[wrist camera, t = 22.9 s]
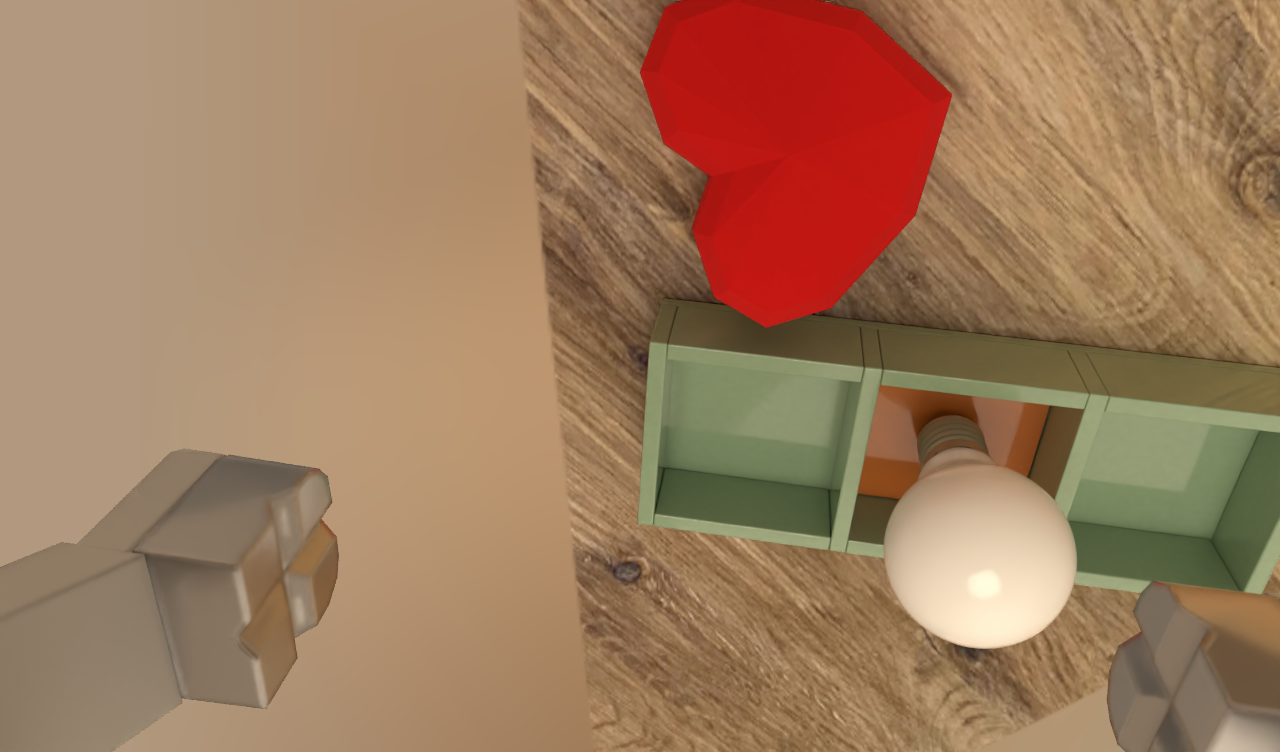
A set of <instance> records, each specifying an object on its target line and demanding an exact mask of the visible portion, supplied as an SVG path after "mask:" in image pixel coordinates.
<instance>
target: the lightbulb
mask: <svg viewBox="0 0 1280 752" xmlns="http://www.w3.org/2000/svg"><path fill="white" fill-rule="evenodd" d="M917 450H918V455H919V461H920V466H921V471H920V474H919V476H918V480H917V482H915V483H914V484H913V485H912V486H911V487H910V488H909V489H908V490H907V491H906V492H905V493H904V494H903V496H902V497H901V498H900V500H899V501H898V502H897V504H896V506H895V507H894V509H893V511H892V513H891V515H890V518H889V521H888V523H887V527H886V531H885V536H884V546H883V554H884V564H885V570H886V574H887V577H888V580H889V583H890V585H891V588H892V590H893V592H894V594H895V596H896V597H897V599H898V601H899V602H900V604H901V605H902V606H903V608H904V609H905V610H906V612H907V613H908V614H909V615H910V616H911V617H912V618H913V619H914V620H915V621H916V622H917V623H918V624H920V625H921V626H922V627H923V628H925V629H926V630H928V631H929V632H931V633H932V634H934V635H936V636H938V637H940V638H942V639H944V640H946V641H949V642H951V643H954V644H957V645H961V646H965V647H971V648H981V649H992V648H1001V647H1007V646H1011V645H1014V644H1018V643H1020V642H1023V641H1025V640H1027V639H1029V638H1031V637H1033V636H1035V635H1037V634H1038V633H1040V632H1041V631H1042V630H1044V629H1045V628H1046V627H1047V626H1049V625H1050V624H1051V623H1052V622H1053V621H1054V620H1055V619H1056V617H1057V616H1058V615H1059V614H1060V612H1061V611H1062V610H1063V608H1064V606H1065V605H1066V603H1067V601H1068V599H1069V597H1070V595H1071V592H1072V590H1073V586H1074V583H1075V578H1076V572H1077V550H1076V544H1075V539H1074V536H1073V532H1072V530H1071V527H1070V525H1069V523H1068V520H1067V518H1066V517H1065V515H1064V513H1063V511H1062V510H1061V508H1060V507H1059V505H1058V504H1057V503H1056V502H1055V500H1054V499H1053V498H1052V497H1051V496H1050V495H1049V494H1048V493H1047V492H1046V491H1045V490H1044V489H1043V488H1042V487H1041V486H1039V485H1038V484H1037V483H1035V482H1034V481H1033V480H1031V479H1029V478H1028V477H1026V476H1024V475H1023V474H1021V473H1019V472H1016V471H1014V470H1012V469H1009V468H1006V467H1003V466H1000V465H998V464H997V463H996V462H995V461H994V460H993V459H992V458H991V457H990V456H989V452H988V449H987V446H986V442H985V439H984V435H983V433H982V431H981V429H980V428H979V426H978V425H977V424H976V423H974V422H973V421H972V420H970V419H968V418H965V417H962V416H956V415H948V416H942V417H939V418H936V419H934V420H932V421H931V422H929V423H928V424H927V425H925V426H924V428H923V429H922V430H921V432H920V433H919V436H918V439H917Z"/></svg>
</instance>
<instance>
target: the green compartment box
mask: <svg viewBox="0 0 1280 752" xmlns="http://www.w3.org/2000/svg"><path fill="white" fill-rule="evenodd" d="M948 415H956V416H962V417H965V418H968V419H970V420H972V421H973V422H974V423H976V424H977V425H978V426H979V428H980V429H981V431H982V433H983V435H984V439H985V442H986V446H987V449H988V452H989V456H990V457H991V458H992V459H993V460H994V461H995V462H996V463H997V464H998V465H1000V466H1003V467H1006V468H1009V469H1012V470H1014V471H1016V472H1019V473H1021V474H1023V475H1024V476H1026V477H1028V478H1029V479H1031V480H1033V481H1034V482H1035V483H1037V484H1038V485H1039V486H1041V487H1042V488H1043V489H1044V490H1045V491H1046V492H1047V493H1048V494H1049V495H1050V496H1051V497H1052V498H1053V499H1054V500H1055V502H1056V503H1057V504H1058V505H1059V507H1060V508H1061V510H1062V511H1063V513H1064V515H1065V517H1066V518H1067V520H1068V523H1069V525H1070V527H1071V530H1072V532H1073V536H1074V539H1075V544H1076V550H1077V572H1076V578H1075V583H1074V584H1077V585H1085V586H1092V587H1099V588H1107V589H1114V590H1121V591H1128V592H1136V593H1141V592H1142V591H1143V590H1144V589H1145V588H1146V587H1147V586H1148V585H1149V584H1150V582H1151V581H1152V580H1155V581H1163V582H1171V583H1179V584H1187V585H1194V586H1202V587H1210V588H1218V589H1226V590H1233V591H1241V592H1249V593H1257V594H1262V592H1263V590H1264V588H1265V586H1266V584H1267V582H1268V580H1269V578H1270V576H1271V574H1272V572H1273V570H1274V568H1275V566H1276V564H1277V562H1278V560H1279V558H1280V368H1277V367H1268V366H1259V365H1250V364H1241V363H1232V362H1224V361H1215V360H1206V359H1197V358H1188V357H1179V356H1171V355H1162V354H1153V353H1144V352H1135V351H1126V350H1118V349H1109V348H1100V347H1091V346H1082V345H1073V344H1064V343H1056V342H1047V341H1038V340H1029V339H1020V338H1011V337H1003V336H994V335H985V334H976V333H967V332H958V331H950V330H941V329H932V328H923V327H914V326H905V325H897V324H888V323H879V322H870V321H861V320H852V319H843V318H835V317H826V316H817V315H807V316H803V317H800V318H797V319H793V320H790V321H787V322H784V323H780V324H777V325H774V326H770V327H767V328H766V327H764V326H762V325H761V324H759V323H757V322H756V321H754V320H752V319H751V318H749V317H747V316H745V315H744V314H742V313H740V312H739V311H737V310H735V309H733V308H732V307H730V306H728V305H720V304H711V303H702V302H693V301H684V300H676V299H667V298H663V300H662V303H661V307H660V310H659V313H658V316H657V320H656V323H655V326H654V329H653V333H652V336H651V339H650V343H649V357H648V371H647V386H646V401H645V416H644V430H643V445H642V460H641V475H640V490H639V504H638V519H637V522H638V524H641V525H648V526H653V524H654V526H656V527H663V528H670V529H677V530H685V531H692V532H699V533H707V534H714V535H721V536H728V537H736V538H743V539H750V540H757V541H765V542H772V543H779V544H787V545H794V546H801V547H808V548H816V549H823V550H828V549H829V550H831V551H837V552H845V551H846V553H850V554H857V555H865V556H872V557H879V558H884V554H883V546H884V536H885V531H886V527H887V523H888V521H889V518H890V515H891V513H892V511H893V509H894V507H895V506H896V504H897V502H898V501H899V500H900V498H901V497H902V496H903V494H904V493H905V492H906V491H907V490H908V489H909V488H910V487H911V486H912V485H913V484H914V483H915V482H917V480H918V476H919V474H920V471H921V466H920V461H919V455H918V450H917V439H918V436H919V433H920V432H921V430H922V429H923V428H924V426H925V425H927V424H928V423H929V422H931V421H932V420H934V419H936V418H939V417H942V416H948Z"/></svg>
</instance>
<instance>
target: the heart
mask: <svg viewBox="0 0 1280 752" xmlns="http://www.w3.org/2000/svg"><path fill="white" fill-rule="evenodd" d="M640 74H641V77H642V80H643V83H644V86H645V89H646V92H647V95H648V98H649V101H650V104H651V107H652V110H653V113H654V116H655V119H656V122H657V125H658V128H659V131H660V134H661V137H662V140H663V143H664V144H665V145H666V146H668V147H669V148H671V149H672V150H673V151H675V152H676V153H678V154H679V155H680V156H682V157H683V158H685V159H686V160H687V161H689V162H690V163H691V164H693V165H694V166H696V167H697V168H698V169H700V170H701V171H703V172H704V173H705V174H707V175H708V176H709V177H708V180H707V183H706V186H705V189H704V192H703V195H702V198H701V201H700V204H699V207H698V210H697V213H696V216H695V219H694V222H693V225H692V231H693V234H694V237H695V240H696V244H697V247H698V250H699V253H700V256H701V259H702V262H703V265H704V268H705V272H706V275H707V278H708V281H709V284H710V287H711V290H712V293H713V295H714V297H715V298H716V299H718V300H720V301H722V302H723V303H725V304H727V305H728V306H730V307H732V308H733V309H735V310H737V311H739V312H740V313H742V314H744V315H745V316H747V317H749V318H751V319H752V320H754V321H756V322H757V323H759V324H761V325H762V326H764V327H766V328H767V327H770V326H774V325H777V324H780V323H784V322H787V321H790V320H793V319H797V318H800V317H803V316H807V315H810V314H813V313H817V312H820V311H823V310H827V309H830V308H832V307H833V305H834V304H835V303H836V302H837V301H838V300H839V299H840V298H841V297H842V296H843V294H844V293H845V292H846V291H847V290H848V289H849V288H850V287H851V286H852V285H853V283H854V282H855V281H856V280H857V279H858V278H859V277H860V276H861V275H862V274H863V272H864V271H865V270H866V269H867V268H868V267H869V266H870V265H871V264H872V262H873V261H874V260H875V259H876V258H877V257H878V256H879V255H880V254H881V253H882V251H883V250H884V249H885V248H886V247H887V246H888V245H889V244H890V243H891V242H892V240H893V239H894V238H895V237H896V236H897V235H898V234H899V233H900V232H901V231H902V229H903V228H904V227H905V226H906V225H907V224H908V223H909V222H910V221H911V220H912V218H913V217H914V216H915V214H916V211H917V208H918V205H919V201H920V198H921V195H922V192H923V189H924V185H925V182H926V179H927V176H928V172H929V169H930V166H931V163H932V159H933V156H934V153H935V150H936V146H937V143H938V140H939V137H940V133H941V130H942V127H943V124H944V120H945V117H946V114H947V111H948V107H949V104H950V101H951V98H952V94H951V93H950V92H949V91H948V90H947V89H946V88H945V87H944V86H943V85H942V84H941V83H940V82H938V81H937V80H936V79H935V78H934V77H933V76H932V75H931V74H930V73H929V72H928V71H927V70H925V69H924V68H923V67H922V66H921V65H920V64H919V63H918V62H917V61H916V60H915V59H914V58H912V57H911V56H910V55H909V54H908V53H907V52H906V51H905V50H904V49H903V48H902V47H900V46H899V45H898V44H897V43H896V42H895V41H894V40H893V39H892V38H891V37H890V36H889V35H887V34H886V33H885V32H884V31H883V30H882V29H881V28H880V27H879V26H878V25H877V24H876V23H874V22H873V21H872V20H871V19H870V18H869V17H868V16H867V15H866V14H865V13H864V12H863V11H860V10H856V9H852V8H848V7H844V6H840V5H836V4H832V3H828V2H824V1H820V0H682V1H679V2H676V3H674V4H671V5H668V6H666V7H665V9H664V11H663V14H662V16H661V19H660V21H659V24H658V27H657V29H656V32H655V34H654V37H653V40H652V42H651V45H650V47H649V50H648V53H647V55H646V58H645V60H644V63H643V66H642V68H641V71H640Z"/></svg>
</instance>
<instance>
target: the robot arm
mask: <svg viewBox="0 0 1280 752" xmlns="http://www.w3.org/2000/svg"><path fill="white" fill-rule="evenodd" d="M331 503H332V498H331V493H330V487H329V481H328V476H327V475H325V474H324V473H323V472H322V471H321V470H320V469H317V468H311V467H305V466H298V465H292V464H285V463H279V462H273V461H265V460H260V459H253V458H247V457H240V456H234V455H228V456H226V455H223V454H217V453H211V452H204V451H197V450H190V449H182V450H178V451H174V452H171V453H169V454H168V455H167V456H166V457H165V458H164V459H163V460H162V461H161V462H160V463H159V464H158V465H157V466H156V467H155V468H154V469H153V470H152V471H151V472H150V473H149V474H148V475H147V476H146V477H145V478H144V479H143V480H142V481H141V482H140V483H139V484H138V485H137V486H136V487H134V488H133V489H132V491H130V493H128V494H127V495H126V496H125V497H124V498H123V500H121V501H120V502H119V503H118V504H117V505H116V506H115V507H114V508H113V509H112V510H111V511H110V512H109V513H108V514H107V515H106V516H105V517H104V518H103V519H102V520H101V521H100V522H99V523H98V524H97V525H96V526H95V527H94V528H93V529H92V530H91V531H90V532H89V533H88V534H87V535H86V536H85V537H84V538H83V539H82V540H80V541H79V542H78V543H77V544H70V543H63V542H61V543H59V544H57V545H54V546H52V547H49V548H47V549H44V550H42V551H39V552H37V553H34V554H32V555H29V556H27V557H24V558H22V559H19V560H17V561H14V562H12V563H9V564H7V565H4V566H2V567H0V752H112V751H114V750H115V749H116V748H118V747H120V746H121V745H123V744H124V743H125V742H126V741H128V740H129V739H131V738H132V737H134V736H135V735H137V734H138V733H140V732H141V731H143V730H144V729H145V728H147V727H148V726H150V725H151V724H153V723H154V722H156V721H157V720H158V719H160V718H161V717H163V716H164V715H166V714H167V713H169V712H170V711H171V710H173V709H174V708H176V707H177V706H178V705H180V704H181V703H182V698H184V699H191V700H199V701H207V702H215V703H223V704H230V705H238V706H246V707H254V708H262V709H267V707H268V705H269V704H270V702H271V700H272V699H273V697H274V696H275V694H276V692H277V691H278V689H279V687H280V686H281V684H282V682H283V681H284V679H285V678H286V676H287V674H288V672H289V671H290V669H291V668H292V666H293V664H294V663H295V661H296V660H297V652H296V646H295V639H294V638H296V637H298V636H299V635H301V634H303V633H305V632H306V631H308V630H310V629H312V628H313V627H315V626H317V625H318V623H319V621H320V619H321V618H322V616H323V614H324V612H325V611H326V609H327V607H328V605H329V603H330V599H331V596H332V593H333V590H334V587H335V583H336V579H337V573H338V559H339V554H338V545H337V537H336V535H335V534H334V533H333V532H332V531H331V530H330V528H329V527H328V526H327V525H326V524H325V523H324V521H323V520H322V519H321V518H322V517H323V515H324V514H325V512H326V511H327V509H328V508H329V506H330V505H331ZM1133 612H1134V615H1135V617H1136V620H1137V622H1138V624H1139V627H1140V629H1141V632H1140V633H1138V634H1137V635H1135V636H1133V637H1132V638H1130V639H1129V640H1127V641H1125V642H1124V643H1122V644H1121V645H1119V646H1118V649H1117V651H1116V654H1115V657H1114V660H1113V662H1112V665H1111V668H1110V671H1109V679H1108V692H1107V704H1108V711H1109V718H1110V723H1111V726H1112V729H1113V732H1114V735H1115V738H1116V741H1117V744H1118V745H1119V746H1120V747H1121V748H1122V749H1123V750H1124V751H1125V752H1280V594H1271V593H1265V594H1257V593H1249V592H1241V591H1233V590H1226V589H1218V588H1210V587H1202V586H1194V585H1187V584H1179V583H1171V582H1163V581H1155V580H1152V581H1151V582H1150V584H1149V585H1148V586H1147V587H1146V588H1145V589H1144V590H1143V591H1142V592H1141V595H1140V597H1139V599H1138V601H1137V604H1136V606H1135V608H1134V610H1133Z"/></svg>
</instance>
